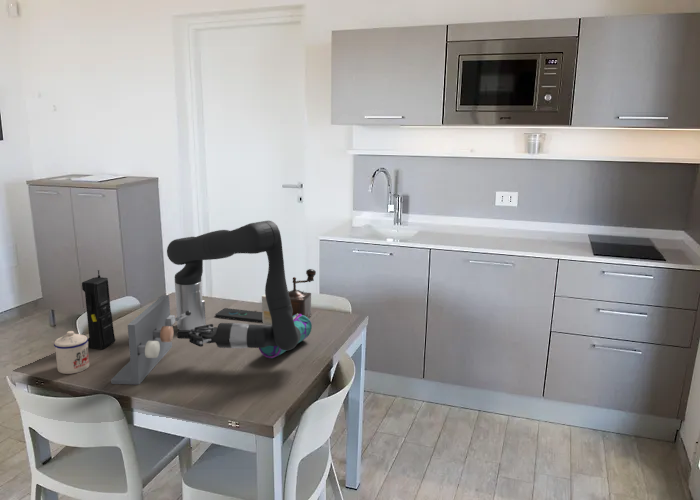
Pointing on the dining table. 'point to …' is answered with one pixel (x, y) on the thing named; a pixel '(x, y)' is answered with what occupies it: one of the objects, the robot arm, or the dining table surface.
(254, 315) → the smart home device
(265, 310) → the supplement box
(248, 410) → the dining table surface
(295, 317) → the pencil case
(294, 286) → the manual coffee grinder
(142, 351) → the cream button
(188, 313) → the toggle lever
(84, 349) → the teacup with lid
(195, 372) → the dining table surface
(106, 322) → the portable radio
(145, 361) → the control panel
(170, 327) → the terracotta button
